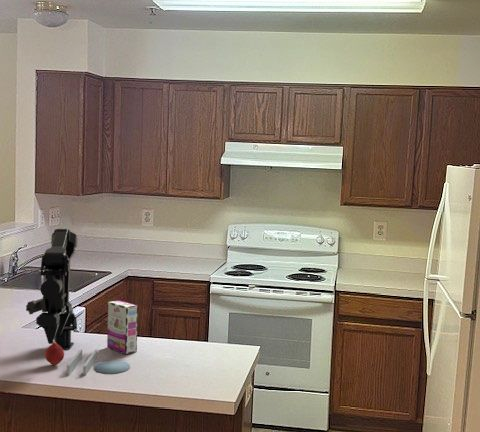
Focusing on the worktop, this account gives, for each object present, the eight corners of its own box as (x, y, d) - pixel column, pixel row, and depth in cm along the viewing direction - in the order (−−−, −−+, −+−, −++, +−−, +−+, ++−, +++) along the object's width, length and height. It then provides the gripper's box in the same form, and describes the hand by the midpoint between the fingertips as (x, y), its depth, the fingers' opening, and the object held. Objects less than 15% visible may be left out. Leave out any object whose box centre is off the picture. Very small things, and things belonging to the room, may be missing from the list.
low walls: (79, 358, 218) (79, 349, 218) (97, 359, 218) (97, 350, 218) (66, 374, 202) (66, 365, 202) (85, 375, 202) (85, 366, 202)
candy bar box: (137, 352, 227) (138, 305, 225) (126, 354, 223) (126, 307, 222) (118, 344, 235) (118, 299, 233) (106, 347, 231) (107, 301, 229)
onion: (65, 363, 213) (65, 338, 212) (61, 368, 207) (61, 344, 207) (47, 362, 213) (47, 338, 212) (42, 368, 207) (42, 343, 206)
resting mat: (99, 361, 216) (99, 360, 216) (132, 362, 216) (132, 361, 215) (91, 373, 205) (91, 371, 205) (126, 374, 205) (126, 372, 205)
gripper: (38, 284, 217) (38, 330, 219) (19, 297, 198) (19, 347, 200) (72, 285, 217) (72, 331, 219) (56, 298, 198) (55, 348, 200)
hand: (54, 339), depth 209 cm, fingers open, 9 cm apart
